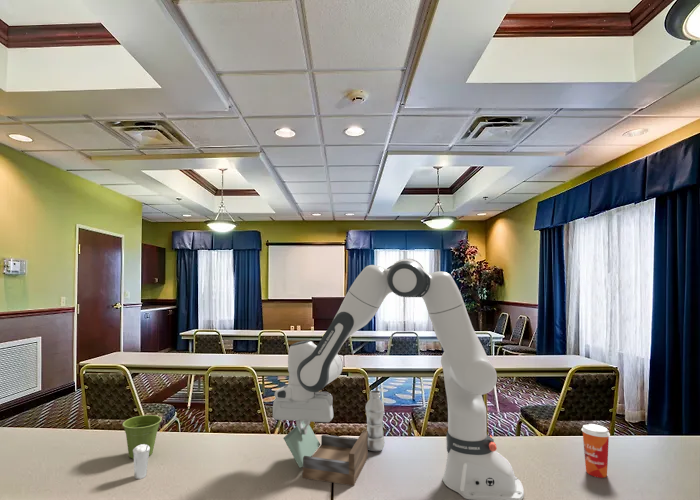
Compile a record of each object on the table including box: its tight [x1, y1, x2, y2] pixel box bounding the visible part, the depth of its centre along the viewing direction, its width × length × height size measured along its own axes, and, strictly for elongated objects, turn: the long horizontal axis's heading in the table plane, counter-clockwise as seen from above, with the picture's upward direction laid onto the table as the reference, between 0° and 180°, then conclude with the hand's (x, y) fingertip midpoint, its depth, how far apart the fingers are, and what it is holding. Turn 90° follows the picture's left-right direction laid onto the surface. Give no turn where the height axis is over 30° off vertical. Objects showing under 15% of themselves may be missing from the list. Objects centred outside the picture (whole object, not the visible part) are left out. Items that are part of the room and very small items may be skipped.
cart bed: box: [302, 430, 369, 487], centre depth 129 cm, size 16×18×9 cm
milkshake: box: [133, 444, 150, 480], centre depth 123 cm, size 4×5×10 cm
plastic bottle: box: [365, 389, 386, 452], centre depth 143 cm, size 6×7×20 cm
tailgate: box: [283, 421, 321, 468], centre depth 132 cm, size 2×16×10 cm
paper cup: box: [581, 423, 611, 479], centre depth 127 cm, size 8×8×14 cm
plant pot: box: [122, 414, 163, 460], centre depth 137 cm, size 12×12×11 cm
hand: (303, 433), depth 132 cm, fingers closed
